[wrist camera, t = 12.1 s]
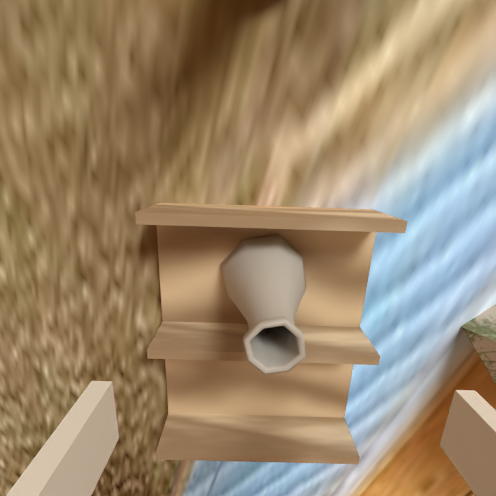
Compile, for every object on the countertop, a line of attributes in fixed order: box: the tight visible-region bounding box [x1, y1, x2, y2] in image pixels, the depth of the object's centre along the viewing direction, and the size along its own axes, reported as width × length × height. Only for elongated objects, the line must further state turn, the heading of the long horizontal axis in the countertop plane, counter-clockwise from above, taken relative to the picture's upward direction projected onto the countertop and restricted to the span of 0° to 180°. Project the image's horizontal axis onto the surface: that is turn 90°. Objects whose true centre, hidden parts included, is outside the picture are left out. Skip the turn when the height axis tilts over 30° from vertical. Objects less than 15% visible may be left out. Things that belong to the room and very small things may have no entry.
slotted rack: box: [135, 203, 407, 464], centre depth 24 cm, size 22×18×5 cm
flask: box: [221, 234, 306, 375], centre depth 19 cm, size 7×7×10 cm
